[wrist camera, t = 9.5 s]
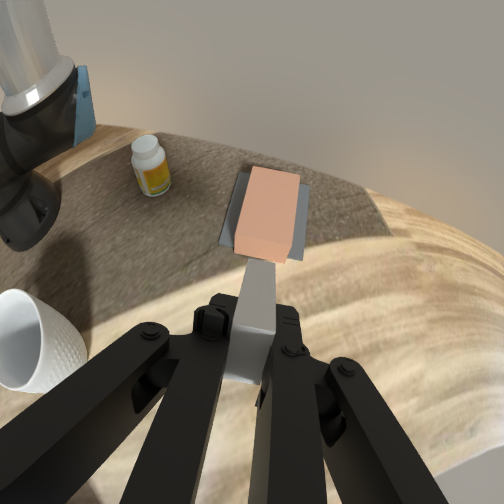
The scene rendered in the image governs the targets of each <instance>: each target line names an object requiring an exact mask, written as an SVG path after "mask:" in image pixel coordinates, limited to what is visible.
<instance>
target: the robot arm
mask: <svg viewBox="0 0 504 504" xmlns="http://www.w3.org/2000/svg"><path fill="white" fill-rule="evenodd" d="M0 86H1V87H2V89H3V91H4V93H5V96H4V100H3V103H2V107H1V108H2V112H0V236H1V238H2V240H3V242H4V243H5V244H6V245H7V246H8V247H9V248H11V249H12V250H14V251H18V252H20V251H25V250H28V249H30V248H31V247H33V246H34V245H36V244H37V243H38V242H39V241H40V240H41V239H42V238H43V237H44V236H45V235H46V234H47V232H48V231H49V229H50V228H51V226H52V225H53V223H54V221H55V219H56V217H57V214H58V211H59V207H60V194H59V192H58V190H57V189H56V187H55V186H54V184H53V183H52V182H51V181H50V180H48V179H47V178H45V177H44V176H42V175H40V174H39V173H37V172H36V171H34V170H33V169H34V168H36V167H37V166H39V165H41V164H43V163H44V162H46V161H48V160H50V159H51V158H53V157H55V156H57V155H59V154H61V153H63V152H65V151H67V150H69V149H71V148H74V147H76V145H77V144H79V143H81V142H83V141H84V140H86V139H88V138H90V137H91V136H92V135H93V133H94V132H95V129H96V122H95V116H94V110H93V103H92V97H91V91H90V84H89V77H88V71H87V66H85V65H84V66H78V67H77V68H75V65H74V62H73V60H72V58H71V57H68V56H61V55H59V53H58V50H57V47H56V44H55V40H54V37H53V34H52V31H51V27H50V23H49V20H48V16H47V12H46V8H45V4H44V0H0ZM223 378H224V379H229V380H234V381H239V382H245V383H250V384H256V385H260V383H261V380H262V384H261V388H260V392H259V395H258V398H257V401H256V404H255V406H256V407H257V417H256V428H255V439H254V449H253V460H252V470H251V479H250V489H249V498H248V504H327V493H326V481H325V470H324V460H325V462H326V465H327V467H328V470H329V472H330V475H331V477H332V480H333V482H334V485H335V487H336V490H337V492H338V495H339V497H340V500H341V502H342V504H449V503H448V502H447V500H446V498H445V497H444V495H443V493H442V491H441V490H440V488H439V486H438V485H437V483H436V482H435V480H434V478H433V476H432V475H431V473H430V471H429V470H428V468H427V467H426V465H425V463H424V462H423V460H422V458H421V457H420V455H419V454H418V452H417V450H416V449H415V447H414V446H413V444H412V442H411V441H410V439H409V438H408V436H407V435H406V433H405V431H404V430H403V428H402V427H401V425H400V424H399V422H398V421H397V419H396V417H395V416H394V414H393V413H392V411H391V410H390V408H389V407H388V405H387V404H386V402H385V401H384V399H383V398H382V396H381V395H380V393H379V392H378V390H377V389H376V387H375V386H374V384H373V383H372V381H371V380H370V378H369V377H368V375H367V374H366V372H365V371H364V369H363V368H362V366H361V365H360V364H359V363H358V362H356V361H354V360H353V359H349V358H346V357H338V358H334V359H333V360H332V361H331V362H330V364H327V363H324V362H322V361H319V360H316V359H314V358H313V357H311V356H310V352H309V350H308V348H307V347H306V346H305V345H304V344H303V341H302V334H301V327H300V321H299V313H298V312H297V311H296V309H295V308H294V307H292V306H286V305H281V304H276V281H275V263H271V262H266V261H261V260H256V259H251V258H249V259H248V263H247V267H246V270H245V274H244V278H243V282H242V286H241V290H240V294H239V297H235V296H231V295H226V294H221V293H218V294H216V295H214V296H213V297H212V298H211V300H210V302H209V305H206V306H201V307H199V308H197V309H196V310H195V311H194V321H193V331H192V333H190V334H186V335H169V331H168V329H167V328H166V327H165V326H163V325H162V324H159V323H156V322H144V323H140V324H138V325H136V326H135V327H133V328H132V329H131V330H129V331H128V332H126V333H125V334H124V335H122V336H121V337H120V338H118V339H117V340H116V341H114V342H113V343H112V344H110V345H109V346H108V347H106V348H105V349H104V350H102V351H101V352H100V353H98V354H97V355H96V356H95V357H93V358H92V359H91V360H89V361H88V362H87V363H85V364H84V365H83V366H81V367H80V368H79V369H77V370H76V371H75V372H73V373H72V374H71V375H69V376H68V377H67V378H65V379H64V380H63V381H62V382H60V383H59V384H58V385H56V386H55V387H54V388H52V389H51V390H50V391H49V392H47V393H46V394H45V395H43V396H42V397H41V398H39V399H38V400H37V401H36V402H34V403H33V404H32V405H30V406H29V407H28V408H26V409H25V410H24V411H23V412H21V413H20V414H19V415H17V416H16V417H15V418H14V419H12V420H11V421H10V422H9V423H7V424H6V425H5V426H3V427H2V428H1V429H0V504H65V503H66V502H67V501H68V500H69V499H70V498H71V497H72V496H73V495H74V494H75V493H76V492H77V491H78V490H79V489H80V487H81V486H82V485H83V484H84V483H85V482H86V481H87V480H88V479H89V478H90V477H91V476H92V475H93V474H94V473H95V471H96V470H97V469H98V468H99V467H100V466H101V465H102V464H103V463H104V462H105V461H106V460H107V458H108V457H109V456H110V455H111V454H112V453H113V452H114V451H115V450H116V449H117V447H118V446H119V445H120V444H121V443H122V442H123V441H124V440H125V439H126V437H127V436H128V435H129V434H130V433H131V432H132V431H133V430H134V428H135V427H136V426H137V425H138V424H139V423H140V422H141V420H142V419H143V418H144V417H145V416H146V415H147V414H148V413H149V411H150V410H151V409H152V408H153V407H154V406H155V404H156V403H157V402H158V401H159V400H160V399H161V398H162V396H163V395H164V396H163V399H162V401H161V403H160V406H159V408H158V410H157V413H156V415H155V417H154V420H153V422H152V424H151V427H150V429H149V432H148V434H147V436H146V439H145V441H144V444H143V446H142V448H141V451H140V453H139V456H138V458H137V461H136V463H135V465H134V468H133V470H132V473H131V475H130V478H129V480H128V483H127V485H126V488H125V490H124V493H123V495H122V498H121V501H120V503H119V504H195V499H196V495H197V490H198V486H199V482H200V477H201V473H202V468H203V464H204V460H205V455H206V451H207V447H208V442H209V438H210V433H211V429H212V425H213V420H214V416H215V412H216V407H217V403H218V398H219V394H220V390H221V384H222V379H223ZM323 457H324V460H323Z"/></svg>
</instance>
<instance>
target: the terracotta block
mask: <svg viewBox="0 0 504 504" xmlns="http://www.w3.org/2000/svg"><path fill="white" fill-rule="evenodd" d="M299 181H300V175H296V174H292V173H287V172H282V171H277V170H272V169H267V168H262V167H256V166H253V168H252V172H251V175H250V179H249V183H248V187H247V190H246V194H245V198H244V202H243V205H242V209H241V213H240V217H239V221H238V225H237V228H236V232H235V248H234V253H236V254H241V255H246V256H251V257H256V258H261V259H266V260H271V261H276V262H281V263H285V261H286V258H287V256H288V254H289V251H290V249H291V246H292V240H293V232H294V224H295V216H296V208H297V199H298V190H299Z"/></svg>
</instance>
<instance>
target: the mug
mask: <svg viewBox="0 0 504 504" xmlns="http://www.w3.org/2000/svg"><path fill="white" fill-rule="evenodd" d="M85 363H87V350H86V346H85V343H84V341H83V338H82V337H81V335H80V333H79V332H78V331H77V329H76V328H75V327H74V326H73V324H71V323H70V321H69V320H68V319H66V318H65V317H64V316H63V315H61V314H60V313H59V312H58V311H56V310H55V309H54V308H52V307H50V306H49V305H48V304H45V303H44V302H43V301H41V300H38V299H37V298H36V297H34V296H32V295H30V294H29V293H27V292H25V291H23V290H21V289H9V290H6V291H4V292H3V293H1V294H0V384H1V385H2V386H4V387H5V388H7V389H10V390H14V391H22V392H29V393H47V392H49V391H50V390H51V389H52V388H54V387H55V386H56V385H58V384H59V383H60V382H62V381H63V380H64V379H65V378H67V377H68V376H69V375H71V374H72V373H73V372H75V371H76V370H77V369H79V368H80V367H81V366H83V365H84V364H85Z"/></svg>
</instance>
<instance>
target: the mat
mask: <svg viewBox="0 0 504 504" xmlns="http://www.w3.org/2000/svg"><path fill="white" fill-rule="evenodd" d="M250 175H251V173H245V172H239V175H238V178H237V182H236V185H235V188H234V191H233V195H232V198H231V201H230V205H229V208H228V212H227V215H226V219H225V222H224V225H223V229H222V232H221V236H220V240H219V244H220V245H225V246H230V247H235V232H236V228H237V225H238V221H239V217H240V213H241V209H242V205H243V202H244V198H245V194H246V190H247V187H248V183H249V179H250ZM309 190H310V186H309V185H305V184H301V183H299V190H298V199H297V208H296V216H295V224H294V232H293V240H292V246H291V249H290V251H289V254H288V256H287V258H290V259H295V260H300V261H302V260H303V253H304V244H305V235H306V224H307V214H308V202H309Z"/></svg>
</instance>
